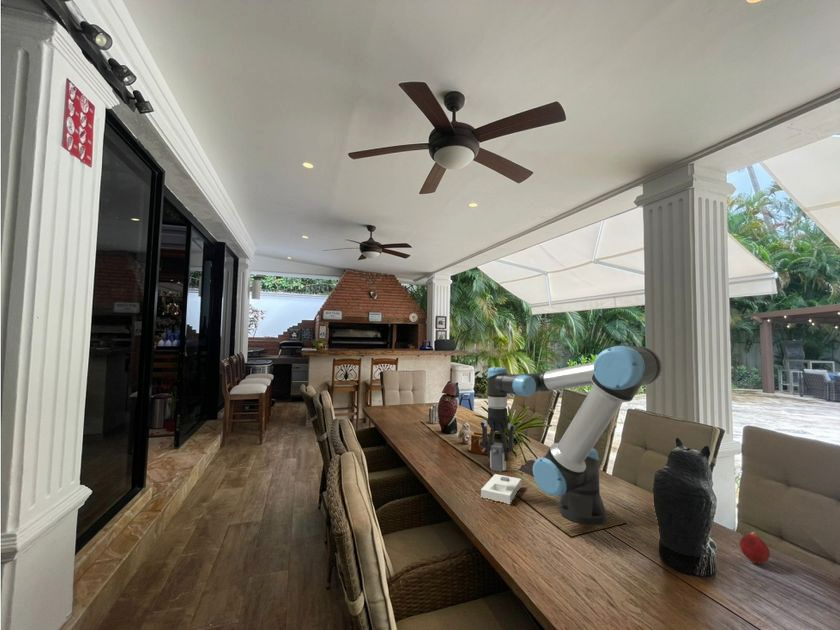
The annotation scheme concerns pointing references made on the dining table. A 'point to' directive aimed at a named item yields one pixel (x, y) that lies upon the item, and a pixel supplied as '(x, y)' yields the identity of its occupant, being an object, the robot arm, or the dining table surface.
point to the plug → (496, 457)
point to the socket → (501, 488)
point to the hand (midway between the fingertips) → (498, 468)
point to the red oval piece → (754, 548)
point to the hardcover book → (528, 468)
